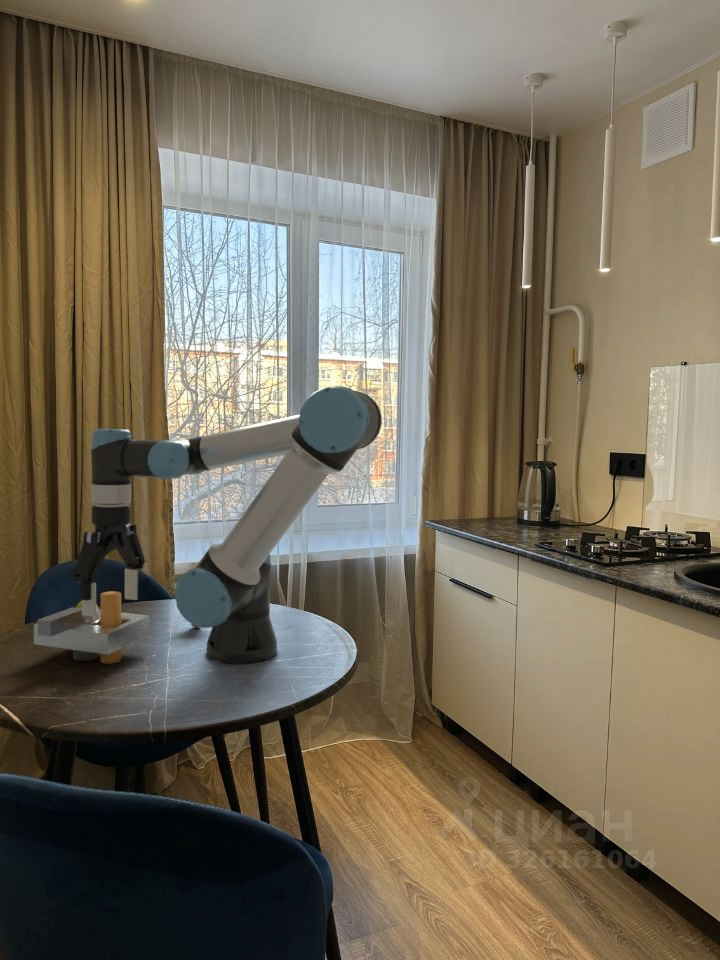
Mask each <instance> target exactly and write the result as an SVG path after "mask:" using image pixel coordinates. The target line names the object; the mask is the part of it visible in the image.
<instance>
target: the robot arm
mask: <svg viewBox="0 0 720 960" xmlns="http://www.w3.org/2000/svg"><path fill="white" fill-rule="evenodd" d="M382 418H383V417H382V412H381V409H380V407H379V405H378V404H377V402H376V401H375V400H374V399H373V398H372V396H370V395H368V394H366V393H364V392H362V391H358V390H354V389H352V388H350V387H346V386H341V385H333V386H327V387H323V388H320V389H319V390H316V391H314V392H313V393H312V394H311V395H309V396H308V398H306V399H305V401H304V402H303V404H302V407H301V408H300V411H299V414H297V415H293V416H292V415H291V416H288V417H284V418H279V419H275V420H270V421H264V422H261V423H257V424H256V423H255V424H252V425H247V426H244V427H238V428H233V429H229V430H224V431H221V432H216V433H211V434H205V435H203V436H197V437H193V438H188V439H179V440H178V439H176V440H175V439H172V440H171V439H170V440H169V439H167V440H166V439H162V440H161V439H160V440H159V439H157V440H156V439H134V438H132V432H131V431H130V430H129V429H118V428H97V429H95V430H93V432H92V434H91V448H90V454H91V456H90V458H91V503H92V504H94V505H93V506H92V507H91V511H90V512H91V513H90V514H91V524H93V525H94V526H95V532H93V531H84V533H83V541H82V545H81V549H80V552H79V556H78V558H77V562H76V565H75V569H74V572H73V576H72V579H71V580H72V582H75V583H78V584H80V599H81V601H82V615H85V616H93V617H94V616H96V604H97V583H96V582H94V580H95V579H96V576H97V575H98V572H99V570H100V568H101V566H102V564H103V562H104V560H105V558H106V556H107V555H109V554H110V552H113V551H115V550H117V552H118V554H119V556H120V557H121V558H122V560H123V562H124V563H125V565H126V567H127V568H125V569H124V599H125V600H130V601H131V600H133V601H137V600H138V598H139V597H138V593H139V592H138V591H139V589H138V587H139V586H138V585H139V584H138V583H139V570H142V569H144V564H146V560H145V556H144V552H143V550H142V549H143V548H142V546H141V543H140V540H139V536H138V535H137V533H138V532H137V531H138V530H137V525H136V524H133V523H130V522H131V519H132V517H131V516H132V513H131V511H132V507H131V505H130V503H132V483H131V482H132V481H131V480H132V477H133V478H135V477H136V478H137V477H138V478H149V479H150V478H151V479H152V478H153V479H161V480H167V479H169V480H171V479H179V478H181V477H183V476H184V475H189V476H190V475H199V474H201V473H203V472H204V473H205V472H209V471H211V470H216V469H221V468H226V467H232V466H237V465H240V464H247V463H250V462H252V463H253V462H256V461H262V460H265V459H270V458H271V459H272V458H276V457H281V456H284V457H283V458H282V460H281V461H280V462H279V464H278V465H277V467H276V468H275V469H274V471H273V472H272V473H271V475H270V477H269V478H268V480H267V481H266V482H265V483H264V484H263V486H262V487H261V489H260V490H259V492H258V493H257V494H256V496H255V497H254V499H253V500H252V501H251V502H250V505H248V507H247V508H246V510H245V511H244V512H243V514H242V515H241V517H240V518H239V520H238V521H237V522H236V524H235V525H234V527H233V528H232V529H231V531H230V532H229V534H228V535H227V536H226V537H225V540H224V541H223V542H221V543H215V544H211V545H210V546H209V548H208V549H207V551H206V552H205V554H204V555H203V556H202V557H201V559H200V561H198V563H197V564H196V566H194V568H190V569H188V570H186V571H185V572H184V573H183V574H182V575H181V576H180V578H179V579H178V580H177V582H176V585H175V589H174V599H175V604H176V607H177V610H178V611H179V613H180V614H181V616H182V617H183V618H184V619H185V621H187V622H188V623H190V624H193V625H195V626H198V627H199V628H203V629H207V628H211V630H210V633H209V635H208V639H207V642H206V655H207V657H208V658H210V659H211V660H214V661H216V662H220V663H227V664H251V663H250V662H253V663H257V661H258V662H262V660H263V661H265V659H266V660H268V659H267V658H269V657H271V656H272V657H274V656H275V655H276V654H277V652H278V640H277V637H276V634H275V633H276V632H275V630H274V627H273V623H272V621H271V616H270V614H271V613H270V611H271V610H270V609H271V608H270V606H271V579H272V578H271V576H272V574H271V573H272V569H271V568H272V563H271V562H272V561H271V553H272V552H273V550H274V549H275V547H276V546H277V545H278V544H279V542H280V540H281V539H282V538H283V537H284V535H285V534H286V533H287V531H288V530H289V529H290V527H291V526H292V524H293V523H294V522H295V520H296V519H297V518H298V516H299V515H300V514H301V512H302V511H303V510H304V508H305V507H306V506H307V504H308V503H309V501H311V499H312V497H313V496H314V495H315V494H316V492H317V491H318V489H319V488H320V486H321V485H322V484H323V483H324V481H325V479H327V477H328V476H329V475H330V474H333V473H340V472H342V471H343V469H344V468H345V466H346V465H347V464H348V462H349V461H350V460H351V458H352V457H353V456H354V454H355V453H356V452H357V451H358V450H361V449H364V448H366V447H368V446H370V445H371V444H372V443H373V442H374V441H375V440H376V439H377V438H378V436H379V435H380V432H381V428H382V424H383V423H382V422H383V419H382ZM275 653H276V654H275ZM274 654H275V655H274ZM273 655H274V656H273ZM272 657H271V658H272ZM269 659H270V658H269Z"/></svg>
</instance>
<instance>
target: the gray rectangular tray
mask: <svg viewBox="0 0 720 960" xmlns="http://www.w3.org/2000/svg"><path fill="white" fill-rule="evenodd" d="M150 617H151V616H150V615H148V614H147V615H146V614H138V613H129V612H122V611H121V625H119V626H116V627H106V626H101V609H100V608H99V607H98V608H97V607H96V616H94V617H93V616H85V615H82V607H81V608H76V607H69V608H67V609H64V610H61V611H58V612H56V613H52V614H50V615H47V616H44V617H41V618H38V619H37V622H36V623H35V624H33V645H37V646H38V645H39V646H45V647H52V648H59V649H67V650H71V651H73V659H74V660H75V661H80V662H81V661H83V662H84V661H85V662H86V661H92V660H95V659H97V658H99V657H100V655H101V654H110V653H112V652H114V651H116V650H118V649H120V648H121V649H122V648H124V647H126V646H128V645H130V644H132V643H134V642H136V641H138V640H141V639H142V638H144V637H146V636H149V635H150V634H151V633H150V628H151V627H150V626H151V624H150V621H151V620H150V619H151V618H150Z"/></svg>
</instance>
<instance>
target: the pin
mask: <svg viewBox="0 0 720 960" xmlns="http://www.w3.org/2000/svg"><path fill="white" fill-rule="evenodd" d="M100 610H101V626H106V627H116V626H119V625H121V612H122V592H120V591H113V590H112V591H111V590H110V591H105V592H101V593H100ZM121 661H122V648H120V649H118V650H116V651H114V652H112V653H110V654H101V653H100V663H103V664H114V663H118V662H121Z"/></svg>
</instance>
